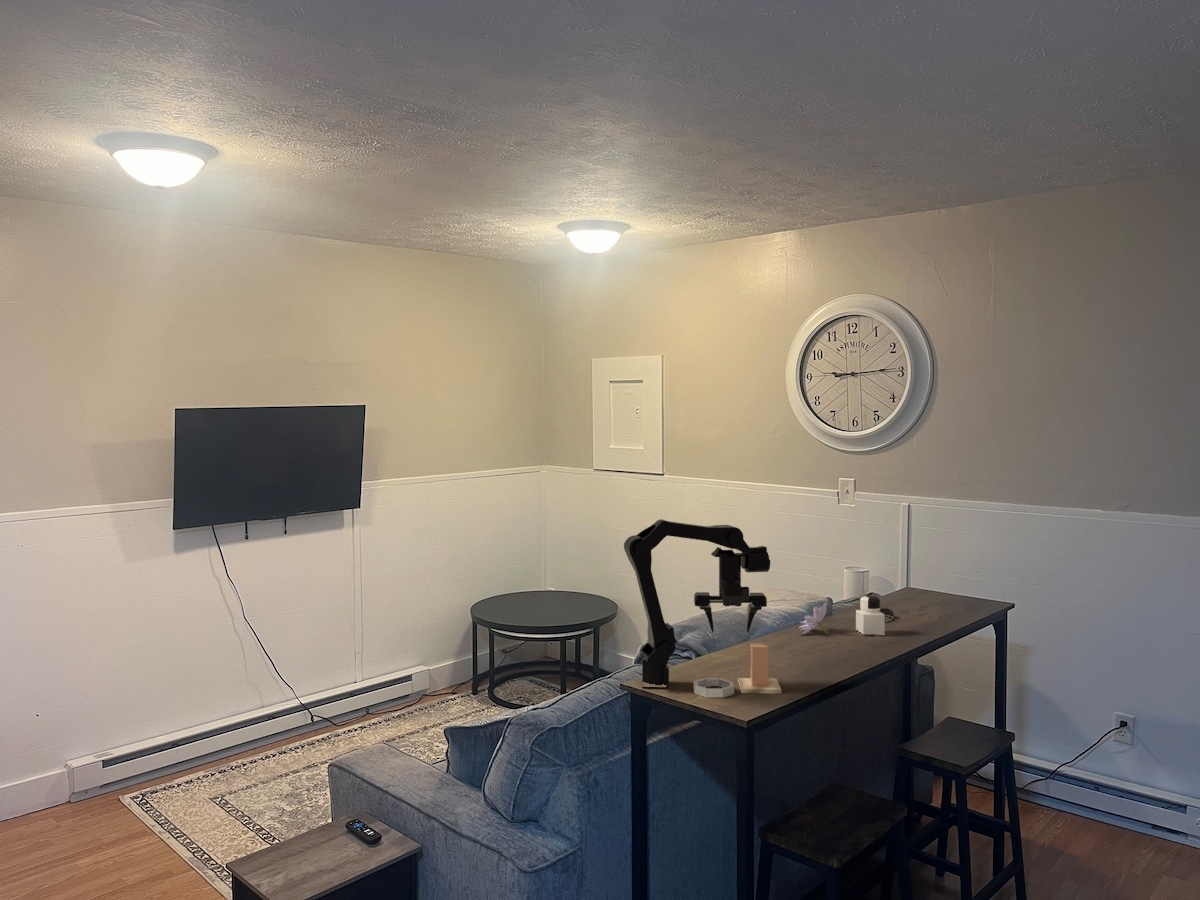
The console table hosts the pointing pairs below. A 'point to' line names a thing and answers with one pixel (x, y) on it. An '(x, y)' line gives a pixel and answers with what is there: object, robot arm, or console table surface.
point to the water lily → (814, 619)
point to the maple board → (770, 689)
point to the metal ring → (713, 692)
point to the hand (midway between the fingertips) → (730, 631)
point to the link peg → (759, 664)
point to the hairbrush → (886, 611)
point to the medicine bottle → (870, 616)
